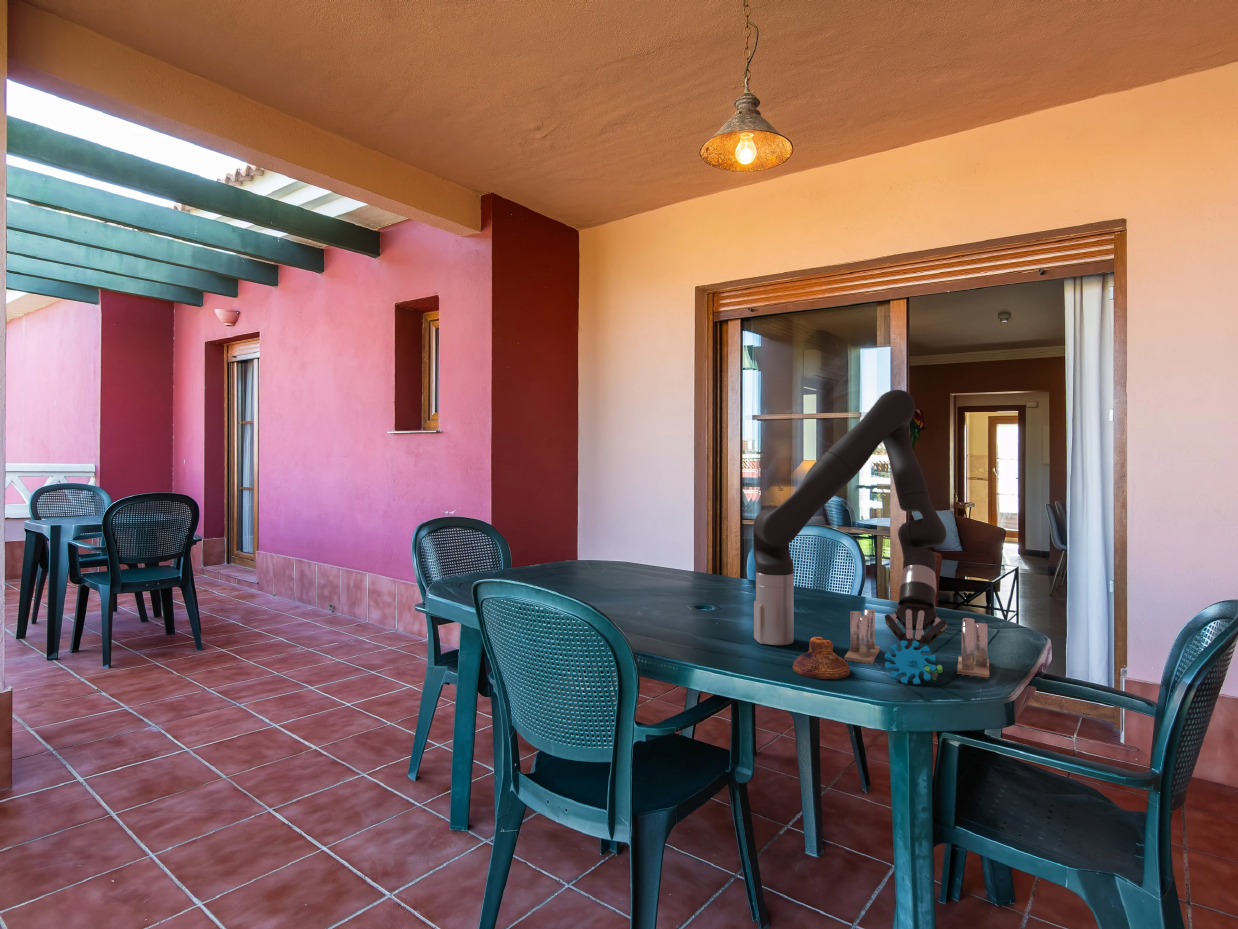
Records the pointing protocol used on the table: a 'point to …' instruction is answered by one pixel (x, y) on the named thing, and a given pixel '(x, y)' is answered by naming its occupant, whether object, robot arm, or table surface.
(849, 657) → the rack
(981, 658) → the spacers
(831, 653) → the bell
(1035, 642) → the table surface
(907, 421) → the robot arm
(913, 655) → the gear
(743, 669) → the table surface
